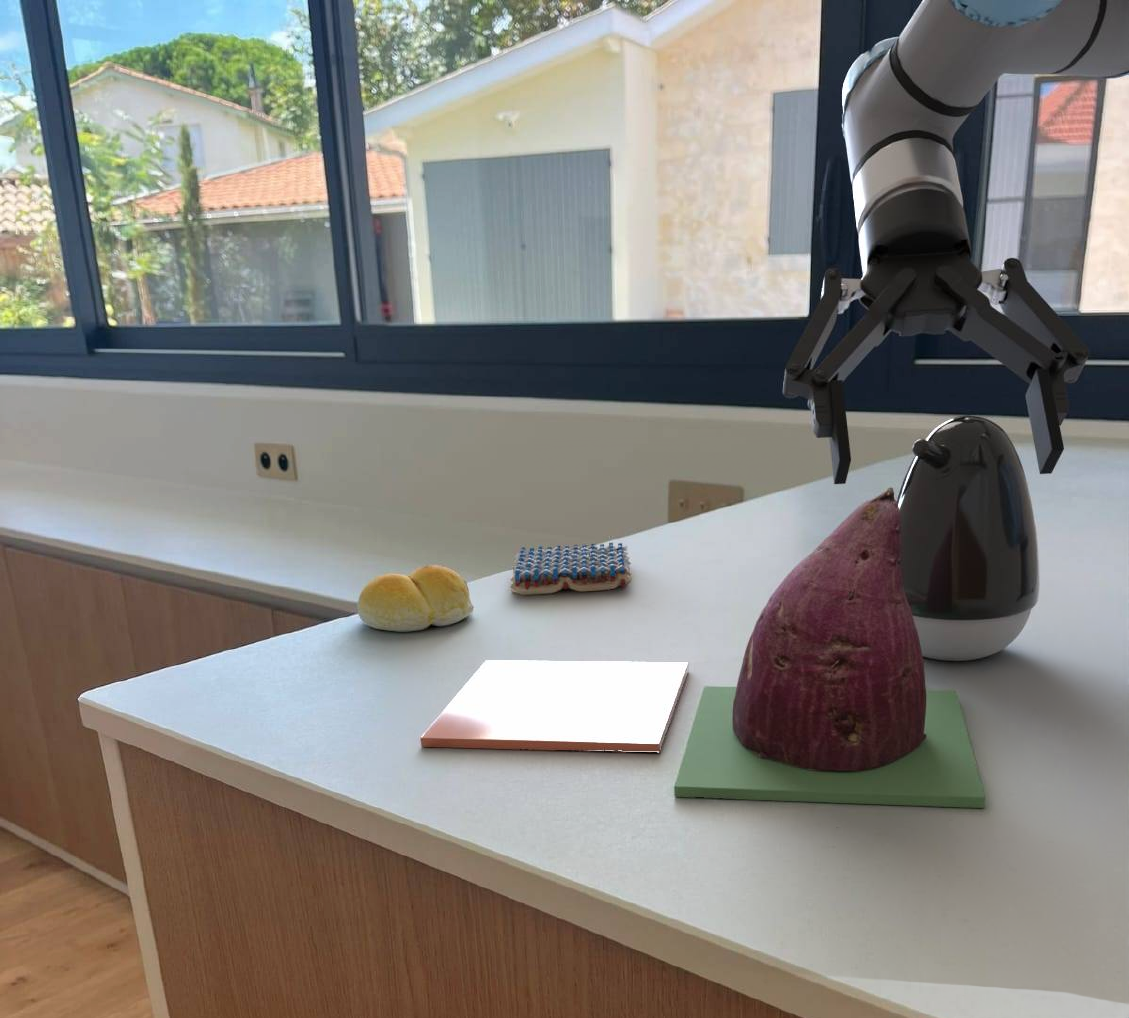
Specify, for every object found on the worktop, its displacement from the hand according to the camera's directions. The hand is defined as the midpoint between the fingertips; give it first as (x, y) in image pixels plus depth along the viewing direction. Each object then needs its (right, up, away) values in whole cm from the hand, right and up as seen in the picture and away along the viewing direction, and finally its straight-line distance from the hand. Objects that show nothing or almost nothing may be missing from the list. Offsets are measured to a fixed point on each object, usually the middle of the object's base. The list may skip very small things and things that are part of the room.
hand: (946, 467), depth 76 cm
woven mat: (-25, -4, +24) cm, 35 cm away
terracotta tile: (-25, -16, -5) cm, 30 cm away
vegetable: (-11, -18, -13) cm, 25 cm away
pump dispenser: (0, -12, +1) cm, 12 cm away
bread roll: (-37, -8, +16) cm, 41 cm away
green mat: (-11, -18, -13) cm, 25 cm away
